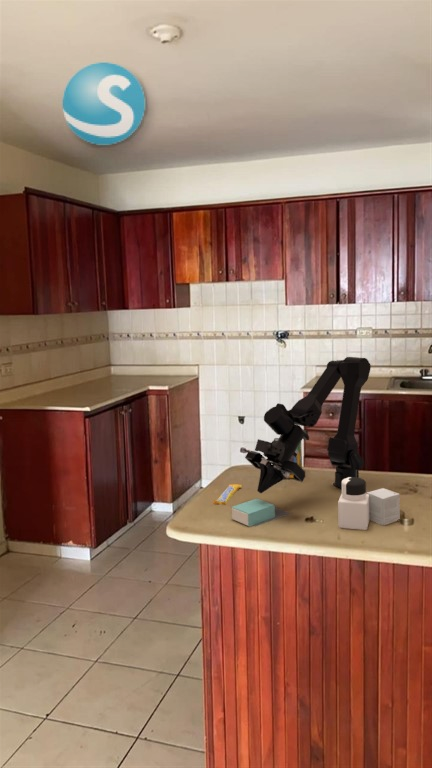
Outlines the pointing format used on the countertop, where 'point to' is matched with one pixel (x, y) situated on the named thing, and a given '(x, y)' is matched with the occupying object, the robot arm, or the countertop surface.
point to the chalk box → (295, 459)
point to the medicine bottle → (353, 504)
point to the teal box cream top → (253, 512)
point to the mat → (278, 514)
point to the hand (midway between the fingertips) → (259, 492)
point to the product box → (384, 506)
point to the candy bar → (227, 494)
